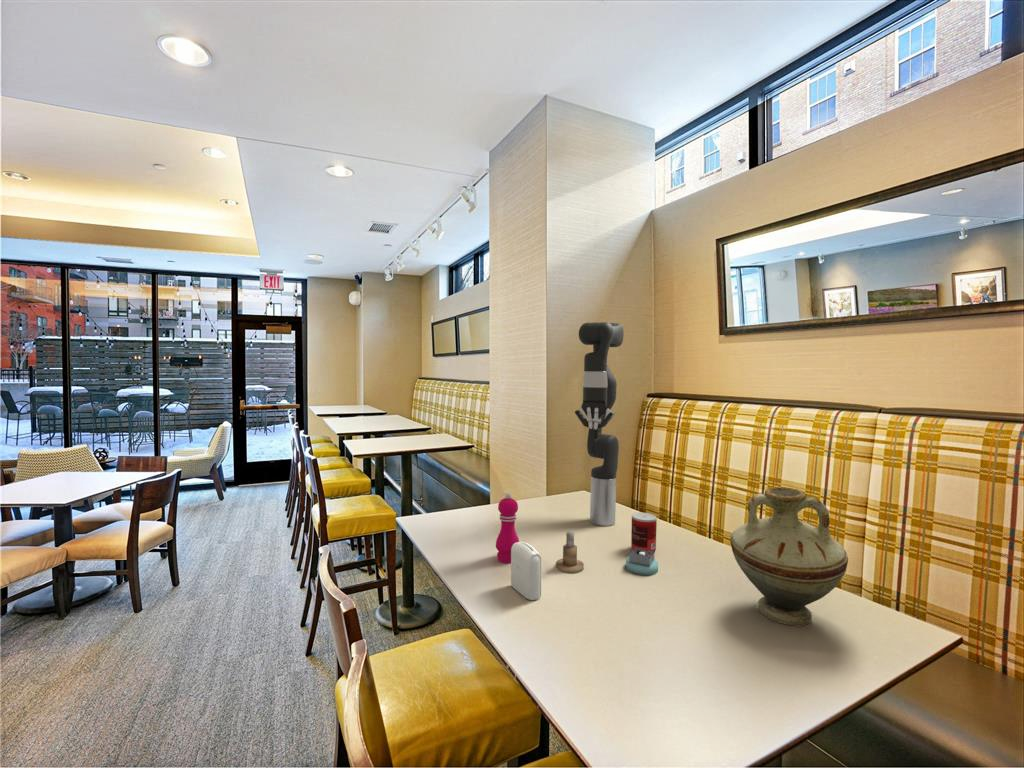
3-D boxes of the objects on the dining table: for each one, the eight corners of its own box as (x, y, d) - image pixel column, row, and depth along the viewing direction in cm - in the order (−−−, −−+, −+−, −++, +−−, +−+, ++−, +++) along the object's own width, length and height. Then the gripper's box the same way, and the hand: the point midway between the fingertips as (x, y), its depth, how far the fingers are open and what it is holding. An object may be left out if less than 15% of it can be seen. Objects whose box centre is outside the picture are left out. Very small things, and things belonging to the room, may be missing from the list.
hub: (620, 563, 137) (620, 548, 137) (646, 560, 140) (647, 545, 139) (636, 576, 128) (636, 560, 128) (664, 573, 131) (664, 557, 131)
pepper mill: (516, 565, 135) (517, 497, 134) (492, 562, 137) (493, 495, 136) (521, 555, 142) (522, 491, 142) (498, 553, 144) (499, 489, 143)
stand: (551, 562, 137) (552, 529, 137) (576, 560, 139) (577, 527, 139) (562, 574, 129) (562, 539, 129) (588, 571, 131) (588, 536, 131)
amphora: (710, 600, 118) (708, 485, 114) (778, 577, 126) (778, 470, 123) (795, 658, 96) (796, 519, 92) (871, 626, 104) (874, 497, 101)
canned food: (653, 546, 151) (653, 512, 151) (658, 555, 143) (659, 520, 143) (629, 544, 152) (629, 511, 152) (633, 554, 144) (633, 519, 144)
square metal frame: (629, 562, 133) (629, 554, 133) (634, 555, 138) (634, 547, 138) (649, 567, 130) (649, 558, 130) (654, 560, 135) (654, 551, 135)
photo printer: (508, 585, 122) (509, 539, 122) (522, 582, 124) (523, 536, 124) (528, 602, 113) (529, 552, 113) (543, 598, 115) (544, 549, 115)
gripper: (570, 385, 145) (570, 440, 146) (612, 386, 139) (611, 444, 140) (579, 385, 152) (578, 437, 153) (619, 386, 146) (618, 441, 146)
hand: (594, 440), depth 146 cm, fingers closed
